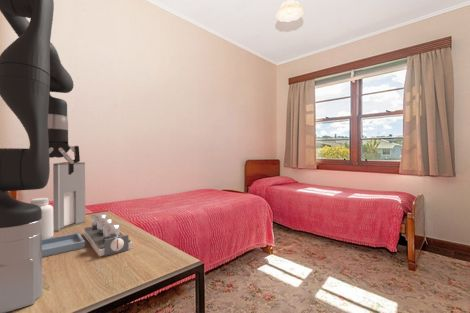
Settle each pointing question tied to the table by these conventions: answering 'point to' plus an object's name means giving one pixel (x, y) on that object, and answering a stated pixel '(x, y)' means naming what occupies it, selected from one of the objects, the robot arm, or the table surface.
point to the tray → (62, 244)
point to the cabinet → (68, 195)
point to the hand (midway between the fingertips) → (55, 175)
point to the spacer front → (110, 231)
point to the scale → (107, 242)
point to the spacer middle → (102, 224)
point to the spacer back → (97, 217)
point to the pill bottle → (45, 216)
